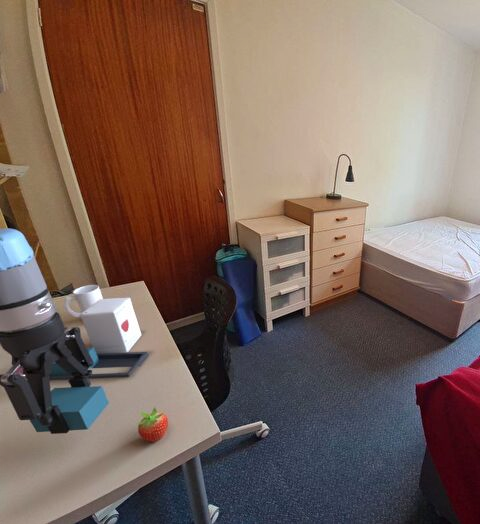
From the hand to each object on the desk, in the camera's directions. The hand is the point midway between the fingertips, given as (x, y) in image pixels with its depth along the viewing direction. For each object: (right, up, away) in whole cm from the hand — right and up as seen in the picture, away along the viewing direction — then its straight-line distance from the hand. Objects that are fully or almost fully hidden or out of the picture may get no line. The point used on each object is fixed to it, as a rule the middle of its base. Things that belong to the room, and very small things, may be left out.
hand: (74, 415), depth 56 cm
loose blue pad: (0, 0, 0) cm, 0 cm away
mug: (-38, +10, +45) cm, 60 cm away
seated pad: (-23, +1, +23) cm, 32 cm away
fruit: (+13, -9, +6) cm, 16 cm away
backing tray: (-17, 0, +24) cm, 29 cm away
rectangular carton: (-18, +4, +33) cm, 38 cm away
